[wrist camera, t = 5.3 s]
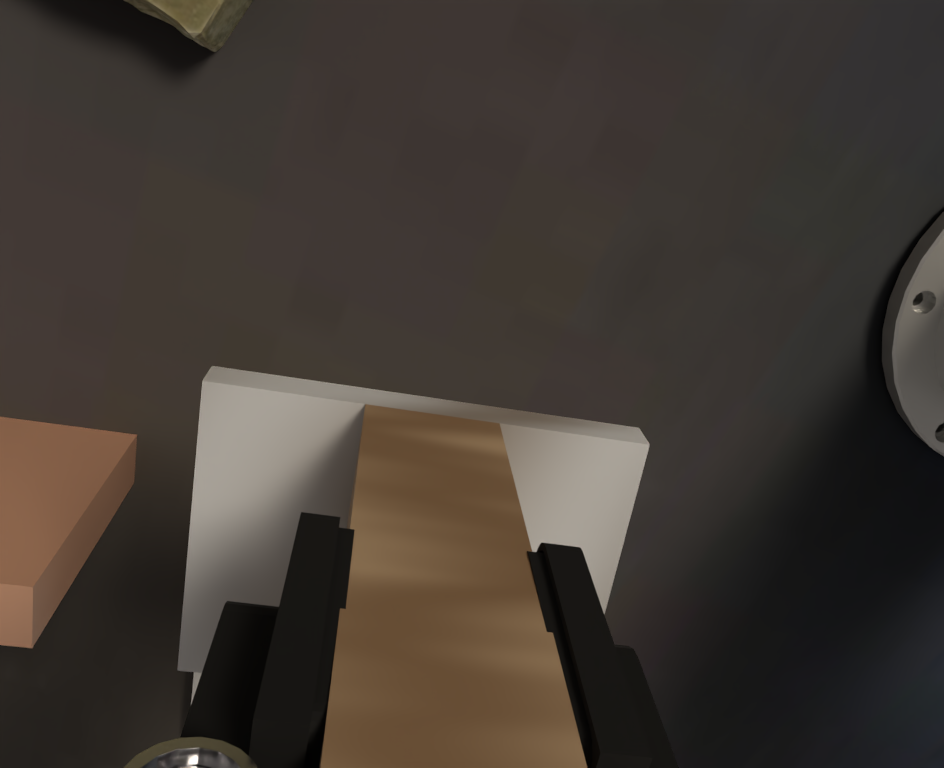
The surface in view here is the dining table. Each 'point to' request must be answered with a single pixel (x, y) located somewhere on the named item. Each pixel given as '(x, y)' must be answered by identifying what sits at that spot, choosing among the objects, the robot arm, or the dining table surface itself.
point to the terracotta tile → (53, 514)
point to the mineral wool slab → (198, 17)
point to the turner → (411, 556)
